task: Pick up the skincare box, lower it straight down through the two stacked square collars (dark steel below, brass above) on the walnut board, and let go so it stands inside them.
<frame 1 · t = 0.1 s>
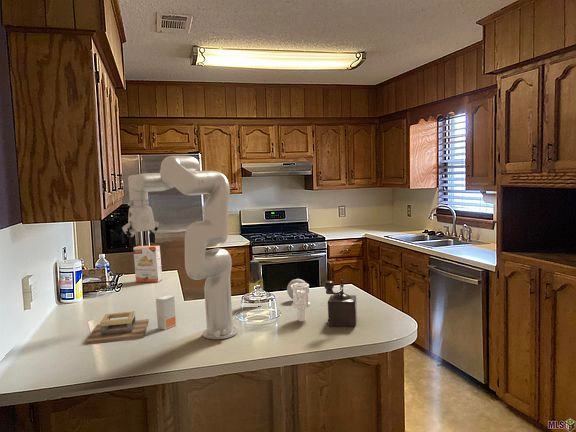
hand: (142, 244, 198), 31 cm above the countertop, tool pointing down, fingers open, 9 cm apart
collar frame: (118, 322, 181), on the walnut board, point 4 cm above the countertop
cracker box: (149, 282, 273), on the countertop
walnut board: (119, 332, 181), on the countertop
sauce bottle: (257, 305, 210), on the countertop
manual coffee grinder: (341, 325, 176), on the countertop
clear stepped glass cylinder: (301, 320, 184), on the countertop
skincare box: (167, 327, 184), on the countertop
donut: (298, 300, 213), on the countertop
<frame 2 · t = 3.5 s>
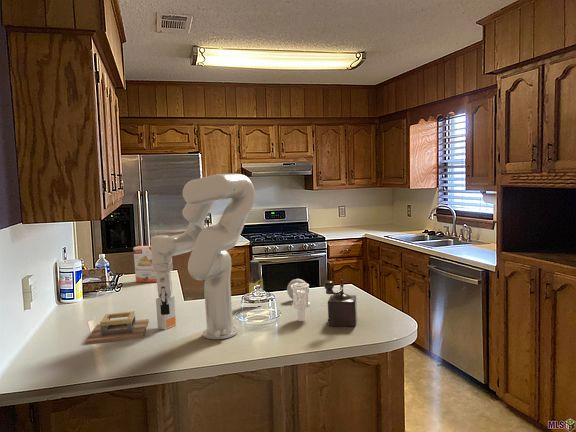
hand: (166, 311, 184), 6 cm above the countertop, tool pointing down, fingers closed on skincare box, 7 cm apart
skincare box: (167, 327, 184), on the countertop, touching gripper
everything else where it was.
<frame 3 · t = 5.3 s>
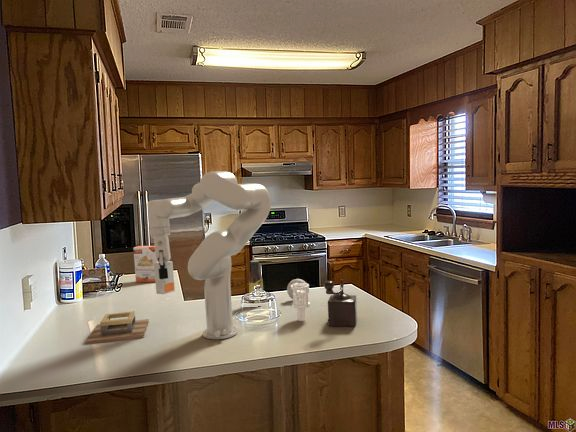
hand: (164, 276, 182), 20 cm above the countertop, tool pointing down, fingers closed on skincare box, 7 cm apart
skincare box: (166, 293, 183), point 14 cm above the countertop, touching gripper
everything else where it was.
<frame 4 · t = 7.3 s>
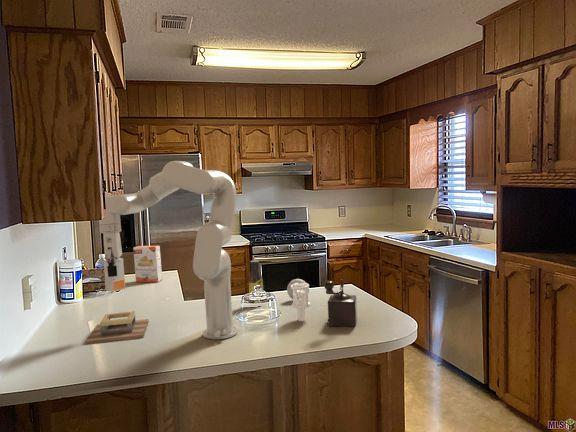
hand: (114, 274, 179), 23 cm above the countertop, tool pointing down, fingers closed on skincare box, 7 cm apart
skincare box: (115, 290, 180), point 16 cm above the countertop, touching gripper
everything else where it was.
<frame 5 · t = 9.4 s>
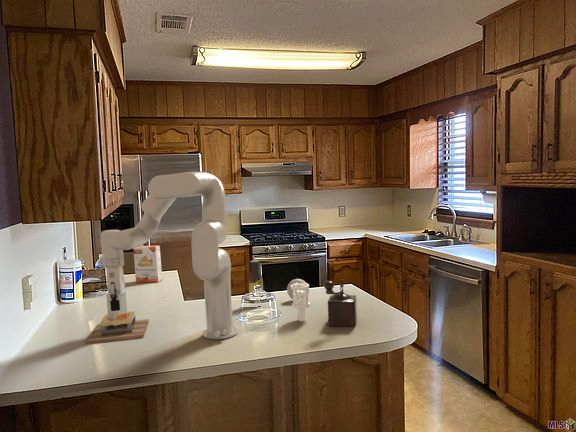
hand: (117, 307, 180), 10 cm above the countertop, tool pointing down, fingers closed on skincare box, 7 cm apart
skincare box: (118, 323, 181), point 3 cm above the countertop, touching gripper
everything else where it was.
when the fingers open (8 cm above the countertop, at t = 11.0 s): skincare box stays where it is, resting on walnut board.
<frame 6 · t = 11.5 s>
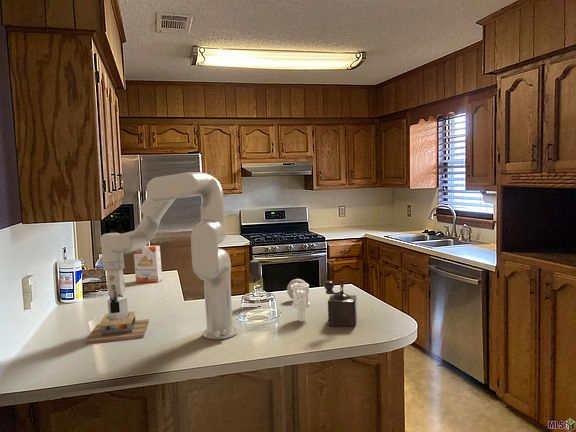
hand: (117, 309, 180), 9 cm above the countertop, tool pointing down, fingers open, 9 cm apart
skincare box: (119, 329, 181), point 1 cm above the countertop, touching walnut board
everything else where it was.
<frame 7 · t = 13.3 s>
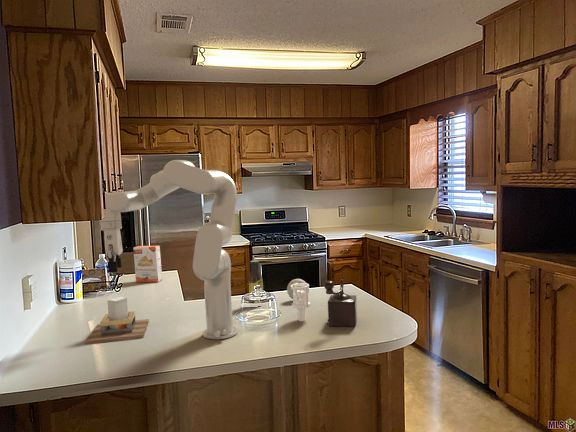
hand: (115, 269, 179), 24 cm above the countertop, tool pointing down, fingers open, 9 cm apart
nothing on the countertop moved.
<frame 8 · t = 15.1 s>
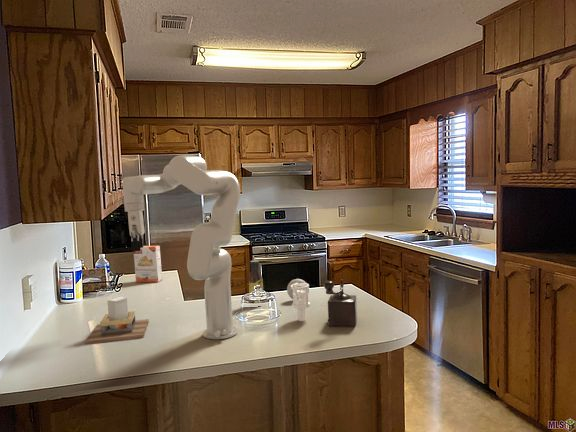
hand: (137, 249, 190), 30 cm above the countertop, tool pointing down, fingers open, 9 cm apart
nothing on the countertop moved.
at the end: skincare box 0.2 cm off-centre on the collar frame, point 1.0 cm above the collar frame's base; skincare box tilted 0°; the gripper is holding nothing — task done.
